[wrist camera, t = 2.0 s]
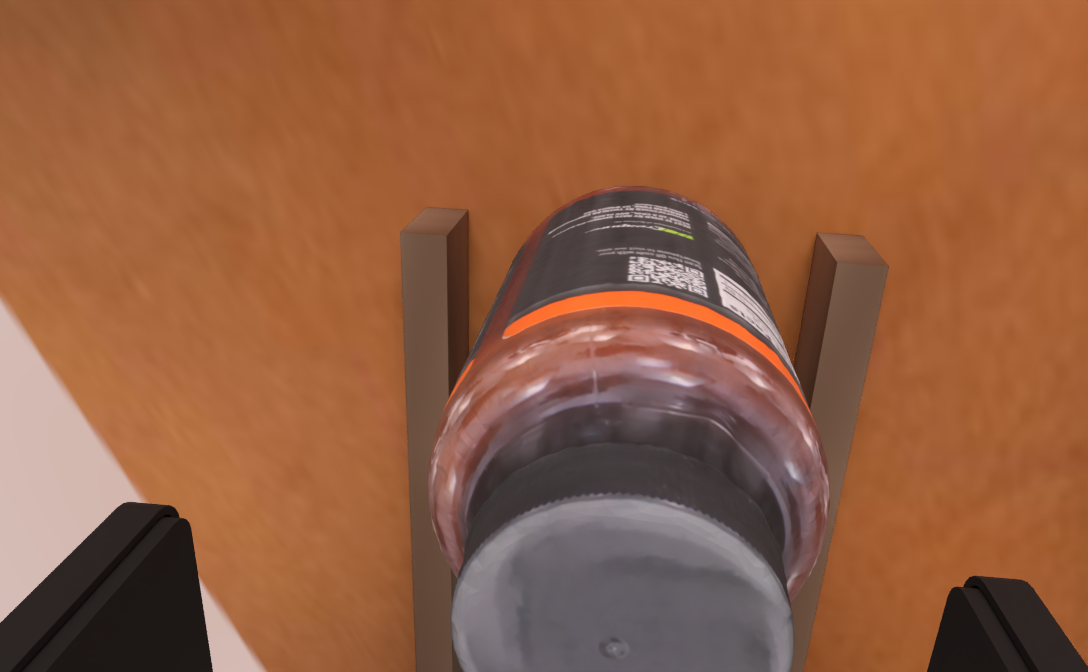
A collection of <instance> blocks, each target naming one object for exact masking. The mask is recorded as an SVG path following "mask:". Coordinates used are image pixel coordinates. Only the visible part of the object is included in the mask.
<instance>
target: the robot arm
mask: <svg viewBox="0 0 1088 672" xmlns="http://www.w3.org/2000/svg"><path fill="white" fill-rule="evenodd" d="M0 672H213V669H212V663H211V656H210V650H209V643H208V637H207V630H206V624H205V617H204V610H203V604H202V597H201V590H200V584H199V577H198V571H197V564H196V557H195V551H194V544H193V538H192V531H191V527H190V523H189V522H188V521H187V520H186V519H184V518H180V517H179V514H178V512H177V510H176V509H175V508H174V507H172V506H170V505H159V504H147V503H136V502H127V503H123V504H122V505H120V506H119V507H118V508H116V509H115V510H114V511H113V512H112V513H111V514H110V515H109V516H108V517H107V518H106V519H105V520H104V522H102V523H101V524H100V525H99V526H98V527H97V528H96V529H95V530H94V531H93V532H92V533H91V534H90V535H89V536H88V537H87V538H86V539H85V540H84V541H83V542H82V543H81V544H80V545H79V546H78V547H77V548H76V549H75V550H74V551H73V552H72V553H71V554H70V555H69V556H68V557H67V558H66V559H65V560H64V561H63V562H62V563H61V564H60V565H59V566H58V567H57V568H56V569H55V570H54V571H53V572H51V574H49V575H48V577H46V578H45V579H44V580H43V582H41V583H40V584H39V586H37V587H36V588H35V589H34V590H33V591H32V592H31V594H29V595H28V596H27V597H26V598H25V599H24V600H23V601H22V602H21V603H20V604H19V605H18V606H17V607H16V608H15V609H14V610H13V611H12V612H11V613H10V614H9V615H8V616H7V617H6V618H5V619H4V620H3V621H2V622H1V623H0ZM927 672H1088V666H1087V665H1086V664H1085V662H1084V661H1083V659H1082V658H1081V656H1080V655H1079V654H1078V652H1077V651H1076V649H1075V648H1074V646H1073V645H1072V644H1071V642H1070V641H1069V639H1068V638H1067V636H1066V635H1065V633H1064V632H1063V631H1062V629H1061V628H1060V626H1059V625H1058V623H1057V622H1056V621H1055V619H1054V618H1053V616H1052V615H1051V613H1050V612H1049V611H1048V609H1047V608H1046V606H1045V605H1044V603H1043V602H1042V600H1041V599H1040V598H1039V596H1038V595H1037V593H1036V592H1035V590H1034V589H1033V588H1032V587H1031V586H1030V585H1029V583H1028V582H1025V581H1023V580H1017V579H1006V578H994V577H983V576H972V577H969V579H968V580H967V581H966V582H965V584H964V587H954V588H952V590H951V591H950V593H949V595H948V598H947V602H946V605H945V609H944V612H943V616H942V620H941V623H940V627H939V631H938V634H937V638H936V641H935V645H934V649H933V652H932V656H931V659H930V663H929V667H928V670H927Z"/></svg>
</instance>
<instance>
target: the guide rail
mask: <svg viewBox="0 0 1088 672" xmlns="http://www.w3.org/2000/svg"><path fill="white" fill-rule="evenodd" d="M400 243H401V271H402V298H403V325H404V352H405V380H406V407H407V434H408V461H409V489H410V516H411V543H412V571H413V598H414V625H415V652H416V672H463V670H462V668H461V666H460V664H459V661H458V658H457V655H456V652H455V650H454V646H453V640H452V633H451V625H450V615H451V605H452V601H453V595H454V590H455V586H456V582H457V577H456V576H455V574H454V572H453V570H452V569H451V567H450V565H449V564H448V563H447V561H446V558H445V556H444V555H443V553H442V551H441V549H440V545H439V542H438V539H437V536H436V534H435V532H434V530H433V525H432V519H431V513H430V506H429V499H428V480H427V478H428V470H429V462H430V456H431V451H432V446H433V441H434V437H435V433H436V429H437V425H438V423H439V421H440V418H441V416H442V413H443V411H444V408H445V406H446V404H447V402H448V399H449V397H450V395H451V393H452V391H453V389H454V386H455V384H456V382H457V379H458V377H459V375H460V373H461V371H462V368H463V366H464V364H465V362H466V360H467V358H468V356H469V350H468V210H461V209H446V208H431V207H426V208H425V209H424V210H423V211H422V212H421V213H420V214H419V215H418V216H417V217H416V218H415V219H414V220H413V221H412V222H411V223H410V224H409V225H408V226H407V227H405V228H404V229H403V230H402V231H401V232H400ZM888 268H889V266H888V265H887V263H886V262H885V261H884V260H883V259H882V258H881V256H880V255H879V254H878V253H877V252H876V250H875V249H874V248H873V247H872V246H871V245H870V243H869V242H868V241H867V240H866V239H865V237H864V236H859V235H844V234H828V233H817V237H816V243H815V249H814V255H813V261H812V267H811V272H810V278H809V284H808V290H807V296H806V301H805V307H804V313H803V319H802V325H801V330H800V336H799V342H798V348H797V354H796V360H795V365H794V371H795V373H796V375H797V378H798V380H799V383H800V385H801V388H802V390H803V393H804V395H805V398H806V401H807V404H808V406H809V409H810V412H811V415H812V417H813V420H814V422H815V425H816V427H817V430H818V432H819V434H820V437H821V441H822V444H823V448H824V452H825V455H826V459H827V463H828V472H829V479H830V481H829V483H830V508H829V515H828V523H827V527H826V531H825V535H824V539H823V543H822V548H821V552H820V554H819V556H818V558H817V562H816V564H815V566H814V567H813V569H812V571H811V575H810V576H809V577H808V578H807V579H806V581H805V582H804V584H803V586H802V588H801V589H800V591H799V593H798V595H797V596H796V597H795V598H794V600H793V601H792V602H791V603H790V604H791V610H792V615H793V621H794V641H795V642H794V654H793V661H792V667H791V671H790V672H803V671H804V666H805V661H806V656H807V652H808V647H809V642H810V637H811V633H812V628H813V623H814V618H815V614H816V609H817V604H818V600H819V595H820V590H821V585H822V581H823V576H824V571H825V566H826V562H827V557H828V552H829V548H830V543H831V538H832V533H833V529H834V524H835V519H836V514H837V510H838V505H839V500H840V495H841V491H842V486H843V481H844V477H845V472H846V467H847V462H848V458H849V453H850V448H851V443H852V439H853V434H854V429H855V425H856V420H857V415H858V410H859V406H860V401H861V396H862V391H863V387H864V382H865V377H866V372H867V368H868V363H869V358H870V354H871V349H872V344H873V339H874V335H875V330H876V325H877V320H878V316H879V311H880V306H881V302H882V297H883V292H884V287H885V283H886V278H887V273H888Z"/></svg>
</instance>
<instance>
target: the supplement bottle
mask: <svg viewBox="0 0 1088 672" xmlns="http://www.w3.org/2000/svg"><path fill="white" fill-rule="evenodd" d="M427 480H428V499H429V506H430V513H431V519H432V525H433V530H434V532H435V534H436V536H437V539H438V542H439V545H440V549H441V551H442V553H443V555H444V556H445V558H446V561H447V563H448V564H449V565H450V567H451V569H452V570H453V572H454V574H455V576H456V577H457V582H456V586H455V590H454V595H453V601H452V605H451V615H450V625H451V633H452V640H453V646H454V650H455V652H456V655H457V658H458V661H459V664H460V666H461V668H462V670H463V672H790V671H791V667H792V661H793V654H794V642H795V641H794V621H793V615H792V610H791V604H790V603H791V602H792V601H793V600H794V598H795V597H796V596H797V595H798V593H799V591H800V589H801V588H802V586H803V584H804V582H805V581H806V579H807V578H808V577H809V576H810V575H811V571H812V569H813V567H814V566H815V564H816V562H817V558H818V556H819V554H820V552H821V548H822V543H823V539H824V535H825V531H826V527H827V523H828V515H829V508H830V483H829V481H830V479H829V472H828V463H827V459H826V455H825V452H824V448H823V444H822V441H821V437H820V434H819V432H818V430H817V427H816V425H815V422H814V420H813V417H812V415H811V412H810V409H809V406H808V404H807V401H806V398H805V395H804V393H803V390H802V388H801V385H800V383H799V380H798V378H797V375H796V373H795V371H794V368H793V366H792V363H791V361H790V358H789V356H788V353H787V350H786V348H785V345H784V343H783V340H782V337H781V335H780V332H779V330H778V327H777V325H776V322H775V319H774V317H773V315H772V311H771V309H770V307H769V304H768V302H767V299H766V297H765V295H764V291H763V289H762V286H761V284H760V281H759V277H758V275H757V274H756V272H755V269H754V267H753V265H752V263H751V261H750V259H749V257H748V255H747V253H746V251H745V249H744V247H743V245H742V244H741V243H740V241H739V240H738V239H737V237H736V236H735V234H734V233H733V232H732V231H731V230H730V229H729V228H728V227H727V225H726V224H724V223H723V222H722V221H721V220H720V219H719V218H718V217H717V216H716V215H715V214H713V213H712V212H711V211H709V210H708V209H707V208H706V207H705V206H703V205H701V204H699V203H697V202H695V201H692V200H690V199H688V198H686V197H684V196H682V195H679V194H676V193H673V192H670V191H668V190H663V189H657V188H651V187H645V186H632V187H630V186H621V187H613V188H608V189H602V190H597V191H594V192H591V193H588V194H586V195H583V196H581V197H579V198H577V199H575V200H573V201H571V202H569V203H567V204H566V205H564V206H562V207H561V208H559V209H558V210H556V211H555V212H554V213H552V214H551V215H550V216H549V217H547V218H546V219H545V220H544V221H543V222H542V223H541V224H540V225H539V226H538V227H537V228H536V229H535V230H534V232H533V233H532V234H531V235H530V236H529V237H528V238H527V240H526V242H525V243H524V245H523V246H522V248H521V249H520V250H519V252H518V254H517V255H516V257H515V259H514V260H513V262H512V265H511V267H510V269H509V272H508V274H507V276H506V278H505V280H504V282H503V284H502V286H501V288H500V290H499V292H498V294H497V297H496V299H495V301H494V303H493V306H492V308H491V310H490V312H489V314H488V316H487V318H486V319H485V322H484V324H483V327H482V329H481V331H480V333H479V335H478V337H477V339H476V341H475V343H474V346H473V348H472V350H471V352H470V354H469V356H468V358H467V360H466V362H465V364H464V366H463V368H462V371H461V373H460V375H459V377H458V379H457V382H456V384H455V386H454V389H453V391H452V393H451V395H450V397H449V399H448V402H447V404H446V406H445V408H444V411H443V413H442V416H441V418H440V421H439V423H438V425H437V429H436V433H435V437H434V441H433V446H432V451H431V456H430V462H429V470H428V478H427Z"/></svg>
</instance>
